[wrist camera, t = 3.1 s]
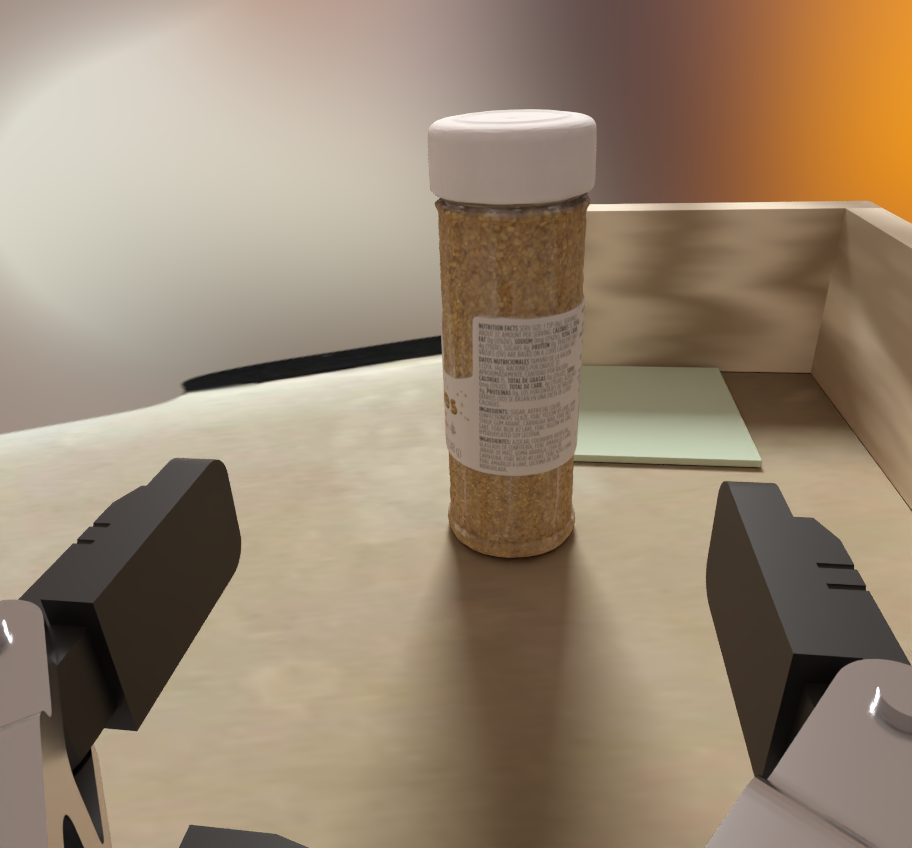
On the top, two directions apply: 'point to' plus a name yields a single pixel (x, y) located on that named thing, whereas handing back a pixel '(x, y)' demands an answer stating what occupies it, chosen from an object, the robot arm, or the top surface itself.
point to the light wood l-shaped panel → (763, 302)
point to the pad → (660, 418)
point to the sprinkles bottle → (512, 319)
